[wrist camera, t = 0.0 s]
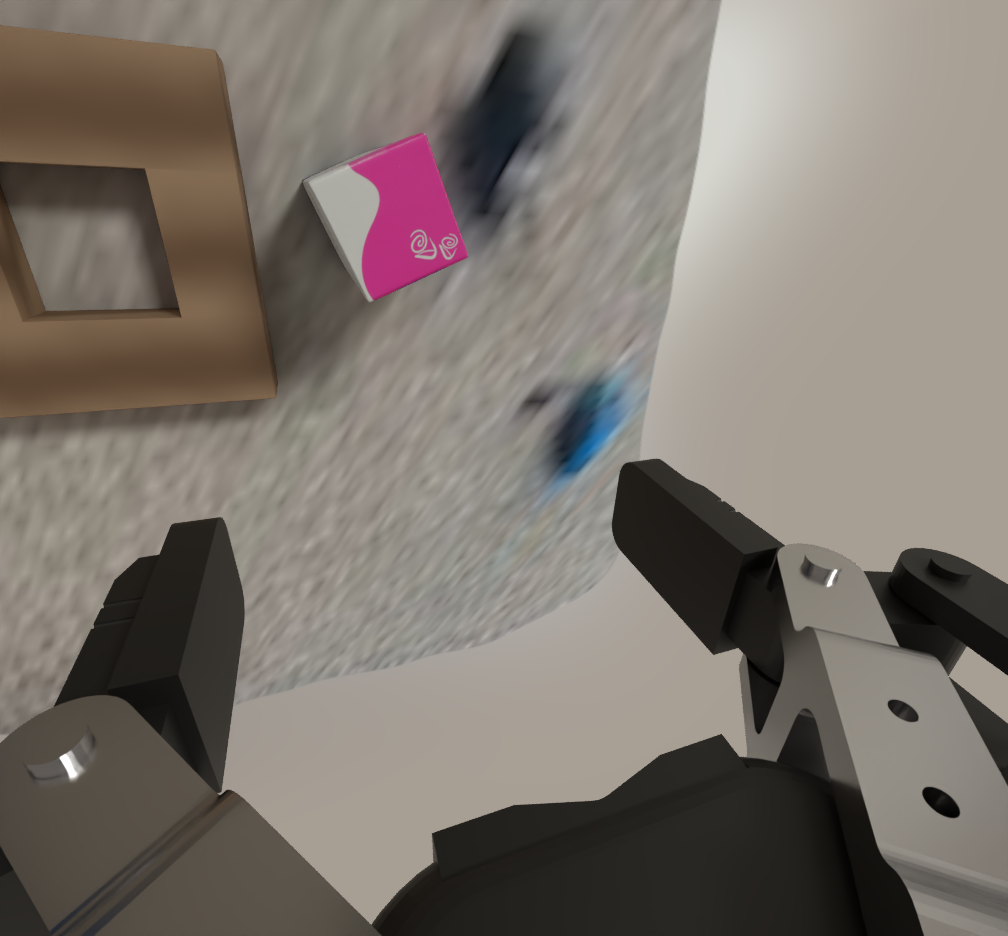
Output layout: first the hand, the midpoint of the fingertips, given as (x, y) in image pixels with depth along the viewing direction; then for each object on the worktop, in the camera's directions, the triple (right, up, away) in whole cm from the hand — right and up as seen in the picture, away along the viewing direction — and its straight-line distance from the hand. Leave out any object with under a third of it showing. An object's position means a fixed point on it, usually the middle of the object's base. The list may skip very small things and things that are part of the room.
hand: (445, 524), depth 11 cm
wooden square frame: (-22, +14, +19) cm, 32 cm away
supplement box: (-8, +18, +23) cm, 30 cm away
